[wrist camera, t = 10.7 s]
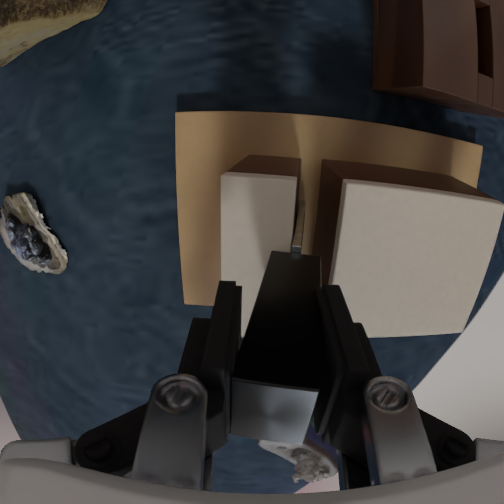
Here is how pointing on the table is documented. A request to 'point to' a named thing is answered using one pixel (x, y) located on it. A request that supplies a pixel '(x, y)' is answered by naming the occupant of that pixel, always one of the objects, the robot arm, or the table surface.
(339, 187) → the cake loaf
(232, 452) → the table surface
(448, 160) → the board
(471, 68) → the knife block
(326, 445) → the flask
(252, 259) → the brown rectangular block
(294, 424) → the knife
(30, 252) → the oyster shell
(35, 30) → the rock
